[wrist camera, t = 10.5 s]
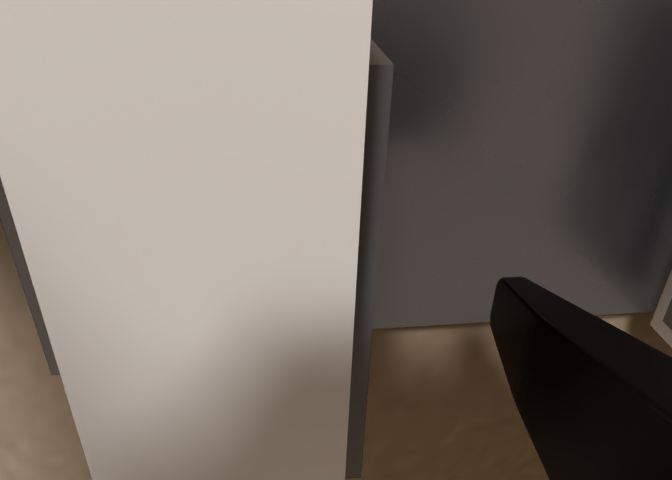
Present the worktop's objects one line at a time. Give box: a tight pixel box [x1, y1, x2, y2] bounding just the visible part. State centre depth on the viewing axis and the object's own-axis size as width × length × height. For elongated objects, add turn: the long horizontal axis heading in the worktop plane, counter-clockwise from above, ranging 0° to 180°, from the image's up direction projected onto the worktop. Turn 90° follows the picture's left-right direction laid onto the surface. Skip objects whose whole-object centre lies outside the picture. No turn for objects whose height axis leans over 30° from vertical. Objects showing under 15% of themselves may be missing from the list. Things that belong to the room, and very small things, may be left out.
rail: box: [0, 0, 672, 375], centre depth 14 cm, size 9×24×2 cm, turn 89°
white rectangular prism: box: [0, 0, 394, 480], centre depth 10 cm, size 4×10×6 cm, turn 178°
